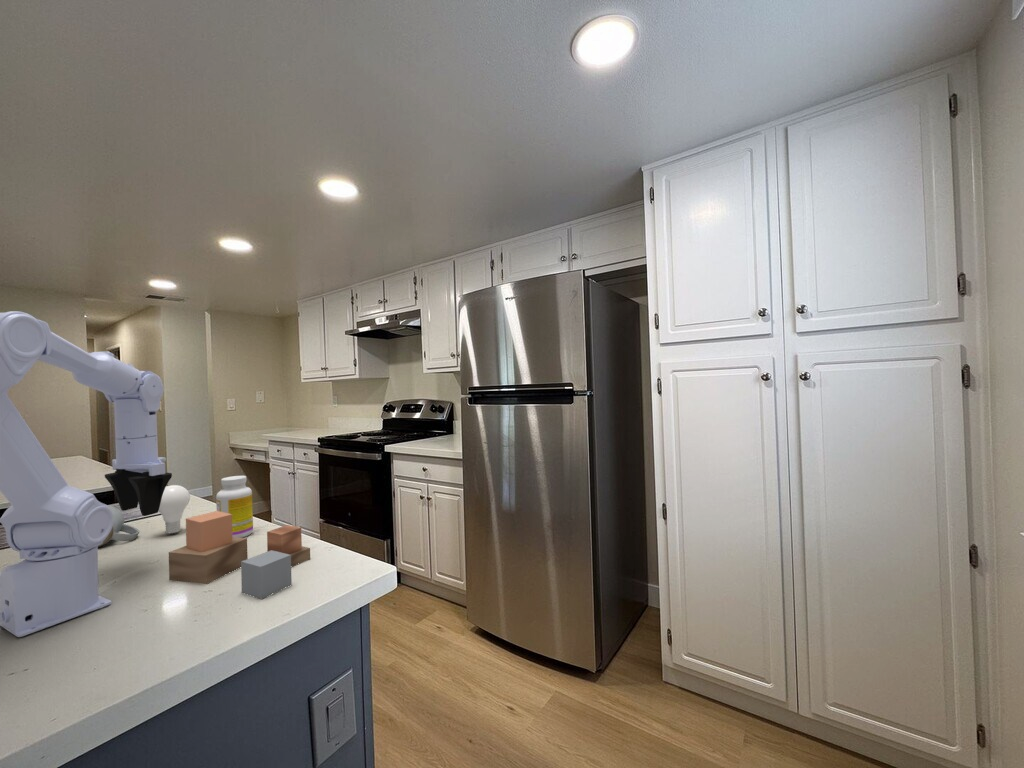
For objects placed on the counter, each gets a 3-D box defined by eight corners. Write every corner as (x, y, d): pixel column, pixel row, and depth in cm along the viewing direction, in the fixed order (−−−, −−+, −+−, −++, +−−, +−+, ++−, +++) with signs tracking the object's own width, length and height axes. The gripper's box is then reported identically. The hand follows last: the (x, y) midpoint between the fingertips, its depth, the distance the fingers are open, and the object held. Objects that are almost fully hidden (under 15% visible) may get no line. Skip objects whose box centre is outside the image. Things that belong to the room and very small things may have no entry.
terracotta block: (201, 551, 71) (200, 522, 71) (186, 547, 74) (185, 518, 74) (232, 542, 76) (231, 514, 76) (217, 537, 78) (217, 510, 78)
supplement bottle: (260, 530, 96) (258, 474, 96) (238, 541, 89) (237, 480, 90) (232, 530, 97) (231, 474, 97) (209, 541, 90) (208, 481, 90)
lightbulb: (160, 532, 97) (159, 484, 97) (194, 527, 100) (192, 481, 100) (150, 541, 91) (149, 490, 91) (186, 535, 94) (185, 486, 94)
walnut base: (206, 585, 70) (206, 555, 70) (169, 581, 72) (168, 552, 72) (247, 565, 78) (247, 538, 78) (212, 562, 79) (212, 535, 79)
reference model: (280, 571, 74) (279, 537, 74) (259, 565, 77) (258, 532, 77) (310, 558, 79) (309, 526, 79) (289, 553, 82) (288, 522, 82)
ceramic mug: (64, 555, 84) (64, 516, 84) (77, 543, 91) (77, 507, 91) (135, 544, 90) (135, 508, 90) (142, 533, 97) (142, 500, 97)
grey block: (261, 599, 64) (260, 566, 64) (241, 593, 66) (241, 561, 67) (291, 585, 69) (290, 554, 69) (272, 579, 71) (271, 550, 71)
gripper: (183, 435, 77) (186, 509, 77) (143, 432, 83) (146, 501, 83) (135, 441, 70) (138, 522, 71) (96, 437, 77) (99, 511, 77)
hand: (139, 511), depth 77 cm, fingers open, 7 cm apart
